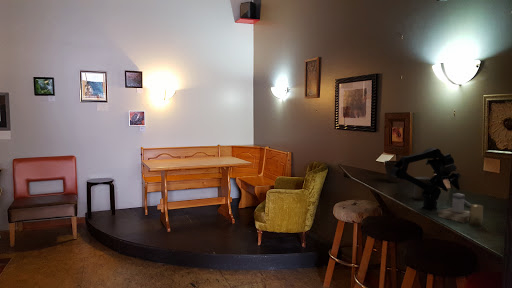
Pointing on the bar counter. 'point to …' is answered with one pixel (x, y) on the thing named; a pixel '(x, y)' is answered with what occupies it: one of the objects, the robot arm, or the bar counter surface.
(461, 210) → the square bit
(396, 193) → the bar counter surface
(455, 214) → the bore block
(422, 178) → the pillar candle
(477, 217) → the beige rectangular block
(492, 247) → the bar counter surface
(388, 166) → the plant pot
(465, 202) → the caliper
